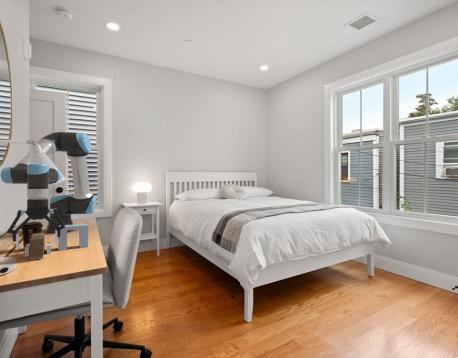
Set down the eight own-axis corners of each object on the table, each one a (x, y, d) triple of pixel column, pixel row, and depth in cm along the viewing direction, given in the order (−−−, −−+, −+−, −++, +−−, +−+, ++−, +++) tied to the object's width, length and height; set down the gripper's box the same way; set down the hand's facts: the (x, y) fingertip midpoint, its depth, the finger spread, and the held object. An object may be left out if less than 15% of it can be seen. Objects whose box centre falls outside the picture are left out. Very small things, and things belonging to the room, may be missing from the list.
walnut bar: (32, 250, 120) (32, 233, 120) (44, 249, 123) (44, 232, 122) (29, 258, 108) (30, 240, 108) (43, 257, 111) (43, 238, 111)
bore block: (58, 248, 128) (58, 225, 128) (87, 244, 135) (87, 223, 135) (58, 250, 124) (58, 227, 123) (88, 247, 131) (88, 225, 131)
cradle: (26, 252, 120) (26, 244, 120) (51, 249, 125) (51, 241, 125) (23, 260, 109) (23, 251, 109) (50, 257, 114) (50, 248, 114)
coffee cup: (39, 245, 132) (39, 220, 131) (45, 248, 127) (46, 222, 127) (18, 249, 124) (18, 223, 124) (24, 252, 120) (24, 225, 119)
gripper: (-2, 200, 102) (-2, 253, 102) (71, 198, 116) (71, 244, 116) (1, 198, 108) (1, 248, 108) (70, 196, 122) (70, 240, 122)
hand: (37, 246), depth 112 cm, fingers open, 13 cm apart
